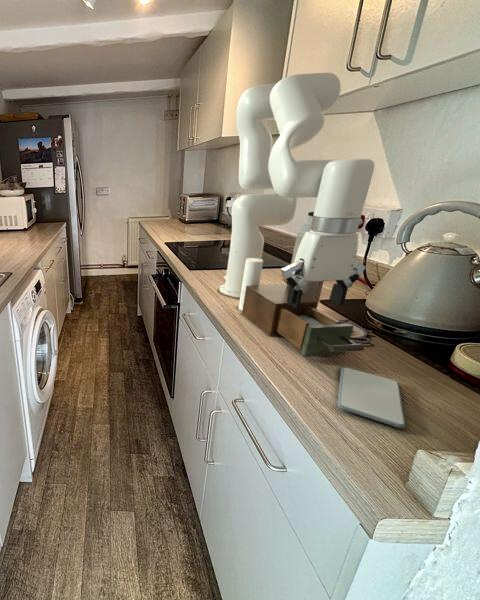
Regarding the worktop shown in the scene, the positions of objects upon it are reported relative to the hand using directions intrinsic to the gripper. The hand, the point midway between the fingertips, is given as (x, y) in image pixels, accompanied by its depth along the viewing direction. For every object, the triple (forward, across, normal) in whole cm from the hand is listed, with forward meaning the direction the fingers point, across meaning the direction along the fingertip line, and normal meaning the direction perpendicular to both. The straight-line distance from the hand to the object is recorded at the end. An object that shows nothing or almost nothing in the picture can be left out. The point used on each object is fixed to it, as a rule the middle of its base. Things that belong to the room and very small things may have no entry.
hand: (314, 304), depth 70 cm
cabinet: (+10, 0, -12) cm, 16 cm away
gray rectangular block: (+8, 0, 0) cm, 8 cm away
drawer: (+9, 0, +2) cm, 10 cm away
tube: (+11, +2, -22) cm, 24 cm away
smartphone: (+10, +2, +19) cm, 21 cm away
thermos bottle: (+11, -10, -17) cm, 22 cm away
